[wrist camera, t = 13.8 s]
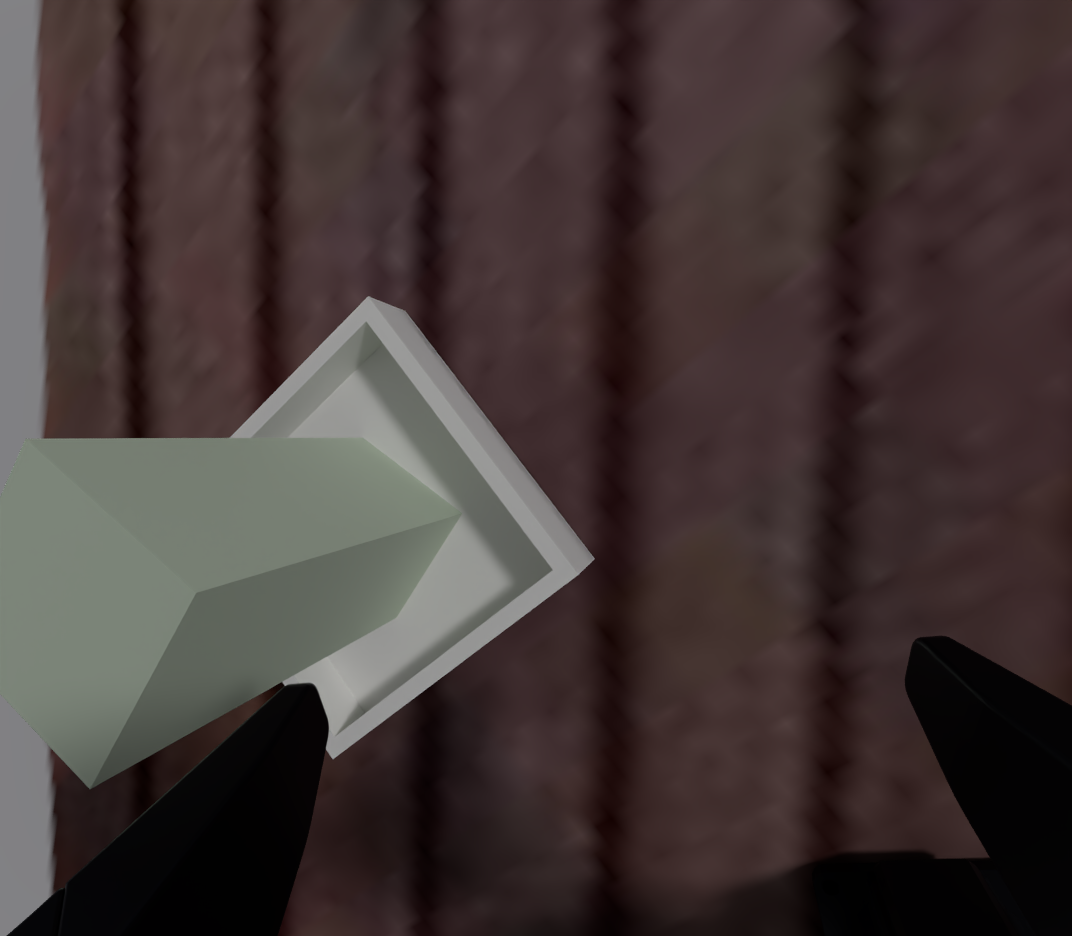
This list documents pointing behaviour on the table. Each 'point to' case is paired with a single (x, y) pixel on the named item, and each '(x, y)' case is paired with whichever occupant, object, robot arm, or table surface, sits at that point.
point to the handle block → (192, 578)
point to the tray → (451, 472)
